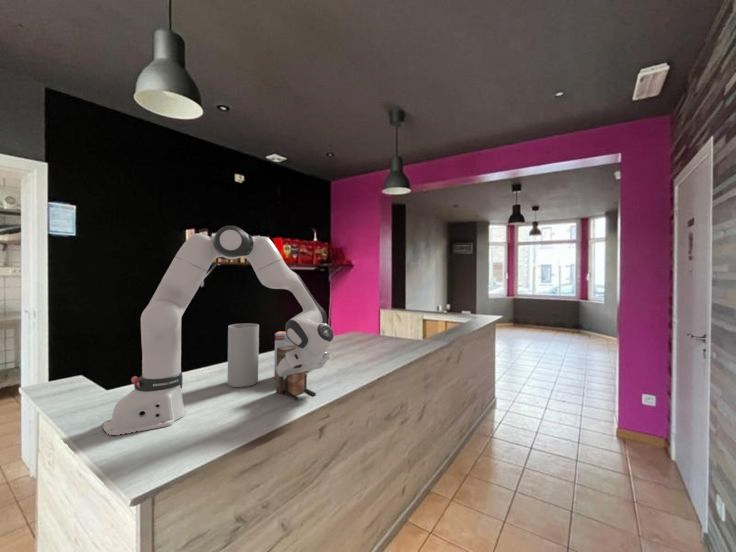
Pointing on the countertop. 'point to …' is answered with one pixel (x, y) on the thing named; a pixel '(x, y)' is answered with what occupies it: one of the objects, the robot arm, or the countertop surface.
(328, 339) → the robot arm
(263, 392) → the countertop surface
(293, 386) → the block
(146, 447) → the countertop surface
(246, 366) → the cylinder vase
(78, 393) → the countertop surface
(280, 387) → the cubby
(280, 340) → the cracker box
